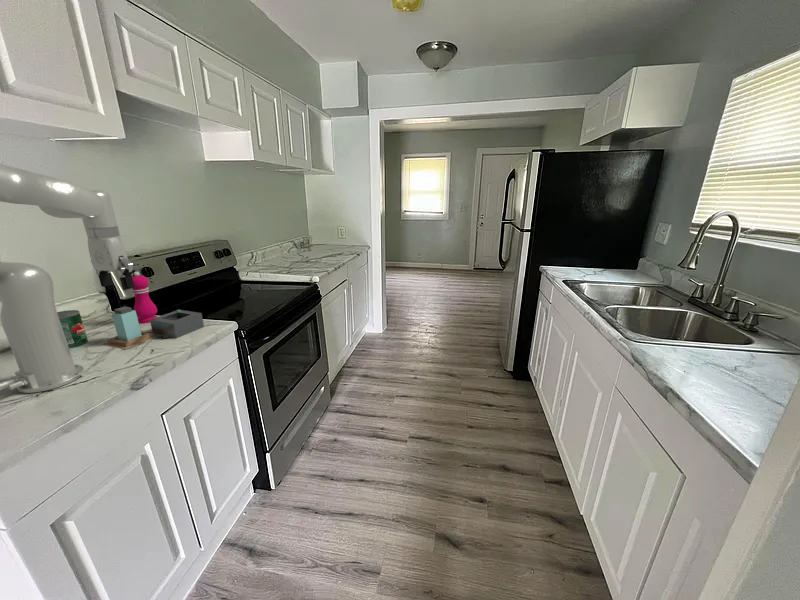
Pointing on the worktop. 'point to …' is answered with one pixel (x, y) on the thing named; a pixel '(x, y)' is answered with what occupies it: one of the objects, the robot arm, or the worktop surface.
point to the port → (177, 323)
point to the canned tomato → (73, 328)
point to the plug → (126, 323)
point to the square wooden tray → (127, 344)
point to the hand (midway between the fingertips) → (118, 287)
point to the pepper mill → (143, 299)
